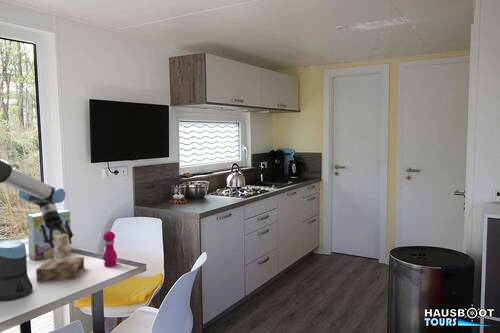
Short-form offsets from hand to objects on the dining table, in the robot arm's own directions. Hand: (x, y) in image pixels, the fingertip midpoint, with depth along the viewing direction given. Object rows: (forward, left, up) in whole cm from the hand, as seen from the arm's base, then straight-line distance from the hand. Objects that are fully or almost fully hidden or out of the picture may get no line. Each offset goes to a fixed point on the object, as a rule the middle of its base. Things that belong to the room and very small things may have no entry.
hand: (63, 251), depth 196 cm
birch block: (-2, +3, -3) cm, 5 cm away
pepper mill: (+20, +12, -13) cm, 27 cm away
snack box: (-18, +38, -13) cm, 44 cm away
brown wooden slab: (-2, +2, -13) cm, 13 cm away
